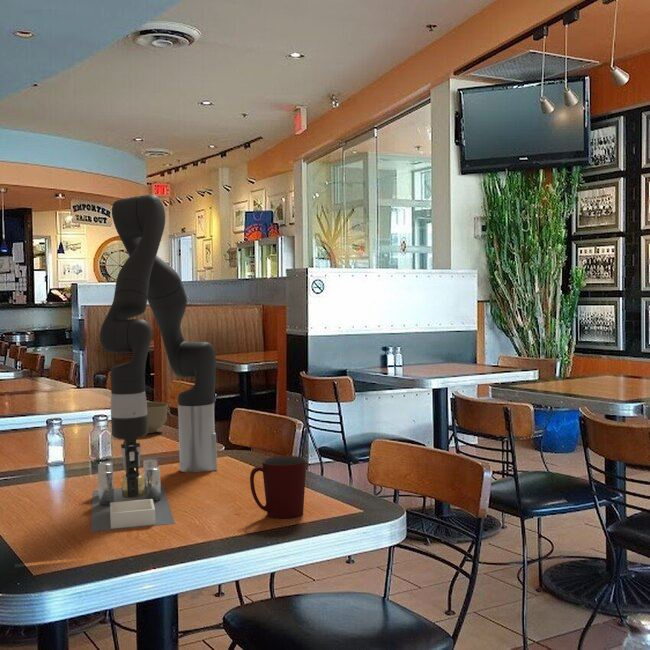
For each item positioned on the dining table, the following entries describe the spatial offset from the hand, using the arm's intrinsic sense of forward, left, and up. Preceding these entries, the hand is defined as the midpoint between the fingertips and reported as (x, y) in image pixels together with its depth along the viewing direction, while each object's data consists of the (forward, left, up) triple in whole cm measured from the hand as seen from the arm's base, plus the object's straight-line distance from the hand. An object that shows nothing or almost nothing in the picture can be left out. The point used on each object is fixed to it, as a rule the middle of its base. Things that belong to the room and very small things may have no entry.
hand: (132, 492), depth 172 cm
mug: (-29, +14, -4) cm, 32 cm away
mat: (0, -2, -4) cm, 4 cm away
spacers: (0, -9, -3) cm, 10 cm away
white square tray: (0, +10, -3) cm, 11 cm away
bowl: (-9, -98, -4) cm, 98 cm away
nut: (0, 0, -1) cm, 1 cm away
